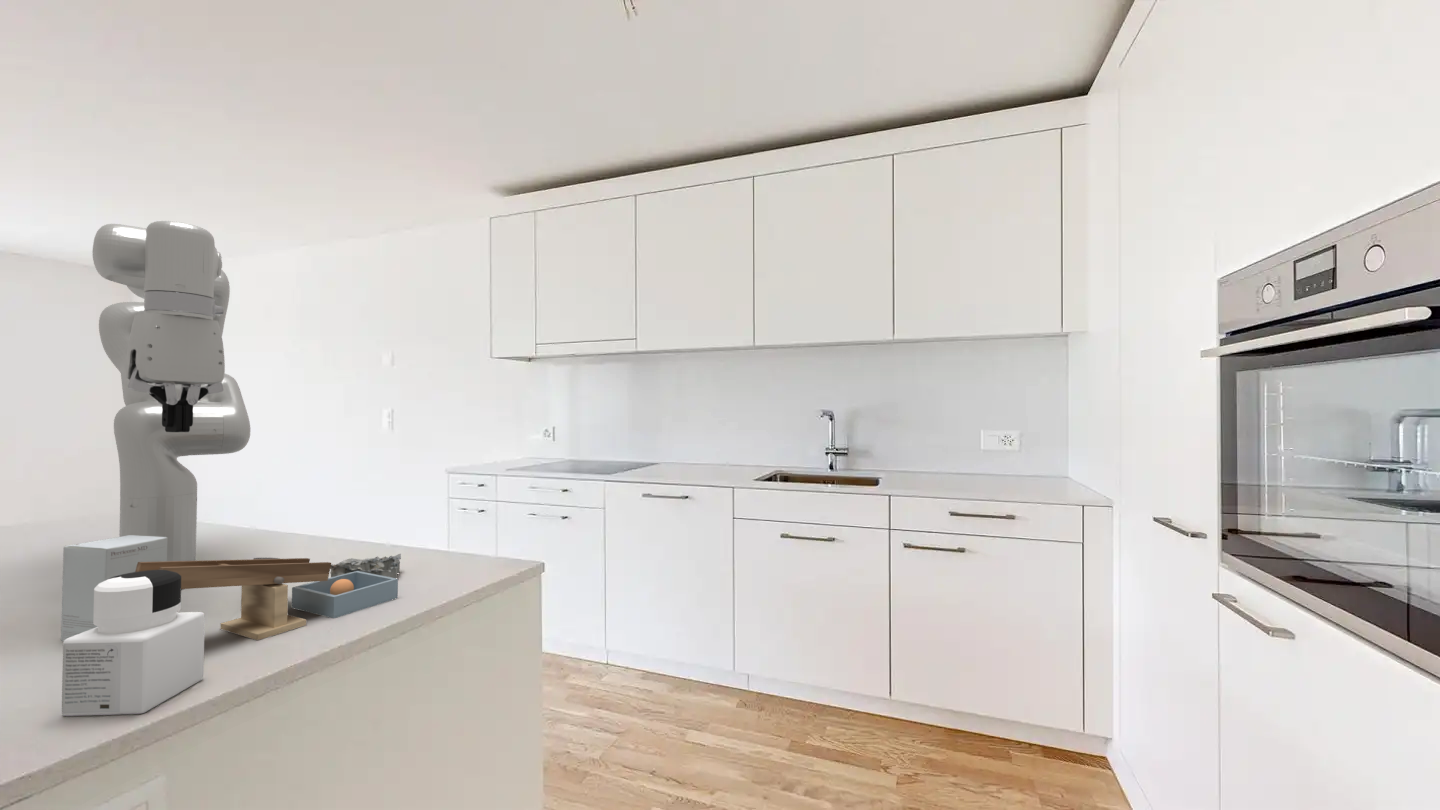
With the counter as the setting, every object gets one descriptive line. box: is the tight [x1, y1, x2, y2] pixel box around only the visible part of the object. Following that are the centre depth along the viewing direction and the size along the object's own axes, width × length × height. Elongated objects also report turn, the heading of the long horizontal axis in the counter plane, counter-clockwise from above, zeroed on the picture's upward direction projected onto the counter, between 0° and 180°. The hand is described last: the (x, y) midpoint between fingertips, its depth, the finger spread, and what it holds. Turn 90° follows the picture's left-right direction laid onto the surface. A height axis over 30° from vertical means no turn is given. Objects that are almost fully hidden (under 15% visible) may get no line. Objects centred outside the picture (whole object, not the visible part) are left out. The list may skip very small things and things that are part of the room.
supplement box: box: [60, 535, 168, 642], centre depth 78 cm, size 7×7×13 cm
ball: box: [330, 579, 354, 595], centre depth 92 cm, size 3×3×3 cm
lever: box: [135, 557, 332, 590], centre depth 81 cm, size 17×21×3 cm
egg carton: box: [329, 553, 402, 579], centre depth 104 cm, size 11×8×4 cm
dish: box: [291, 571, 399, 619], centre depth 91 cm, size 10×10×4 cm
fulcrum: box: [219, 583, 307, 641], centre depth 81 cm, size 9×6×6 cm, turn 66°
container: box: [61, 570, 205, 717], centre depth 61 cm, size 8×8×13 cm
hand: (177, 431), depth 85 cm, fingers closed
